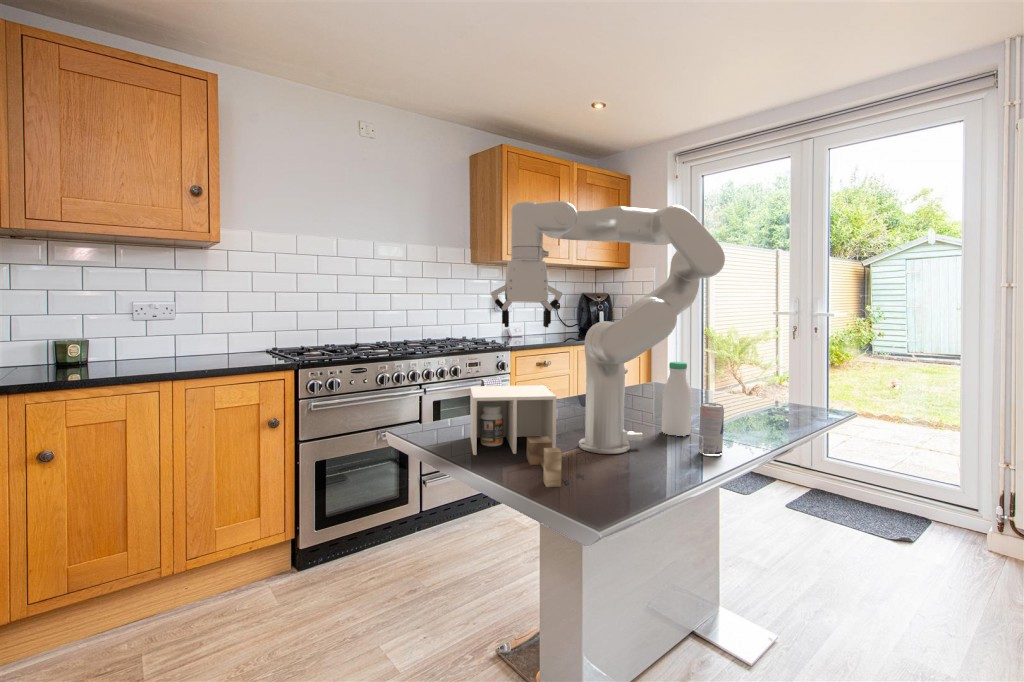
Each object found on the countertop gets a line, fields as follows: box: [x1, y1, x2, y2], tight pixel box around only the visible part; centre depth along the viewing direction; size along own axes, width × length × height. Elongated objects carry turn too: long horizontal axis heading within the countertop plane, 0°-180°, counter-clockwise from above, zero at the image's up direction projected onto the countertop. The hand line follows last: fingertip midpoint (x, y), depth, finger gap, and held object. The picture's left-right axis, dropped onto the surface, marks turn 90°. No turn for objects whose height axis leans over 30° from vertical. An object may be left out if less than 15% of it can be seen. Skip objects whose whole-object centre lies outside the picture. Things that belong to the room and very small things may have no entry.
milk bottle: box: [661, 361, 693, 436], centre depth 143 cm, size 8×8×20 cm
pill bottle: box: [480, 404, 504, 447], centre depth 132 cm, size 6×6×10 cm
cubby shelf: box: [469, 384, 557, 456], centre depth 131 cm, size 20×16×14 cm
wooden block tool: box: [526, 436, 563, 488], centre depth 111 cm, size 5×19×7 cm, turn 7°
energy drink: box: [698, 402, 725, 454], centre depth 124 cm, size 5×5×12 cm
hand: (526, 327), depth 125 cm, fingers open, 9 cm apart
